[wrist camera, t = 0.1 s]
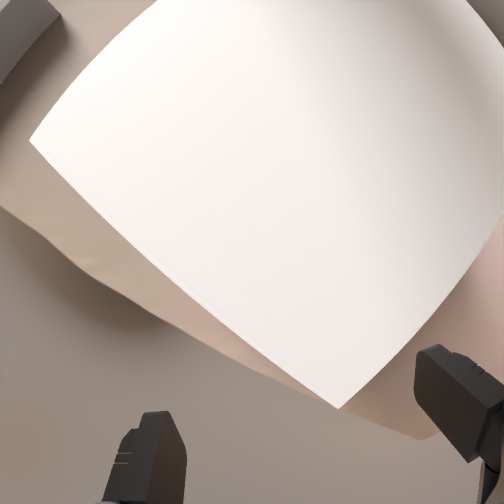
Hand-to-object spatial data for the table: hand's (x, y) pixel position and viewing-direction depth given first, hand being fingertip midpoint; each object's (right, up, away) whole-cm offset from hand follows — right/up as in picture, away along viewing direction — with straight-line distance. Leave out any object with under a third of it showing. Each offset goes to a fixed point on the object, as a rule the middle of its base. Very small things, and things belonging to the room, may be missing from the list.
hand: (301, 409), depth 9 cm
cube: (+2, +17, +28) cm, 33 cm away
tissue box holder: (-46, +38, +19) cm, 63 cm away
